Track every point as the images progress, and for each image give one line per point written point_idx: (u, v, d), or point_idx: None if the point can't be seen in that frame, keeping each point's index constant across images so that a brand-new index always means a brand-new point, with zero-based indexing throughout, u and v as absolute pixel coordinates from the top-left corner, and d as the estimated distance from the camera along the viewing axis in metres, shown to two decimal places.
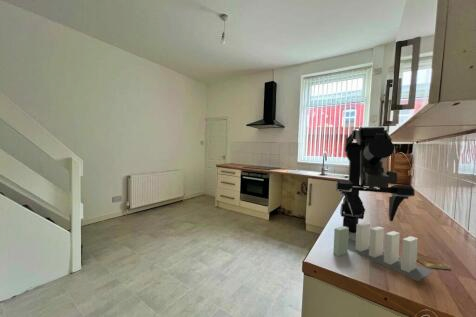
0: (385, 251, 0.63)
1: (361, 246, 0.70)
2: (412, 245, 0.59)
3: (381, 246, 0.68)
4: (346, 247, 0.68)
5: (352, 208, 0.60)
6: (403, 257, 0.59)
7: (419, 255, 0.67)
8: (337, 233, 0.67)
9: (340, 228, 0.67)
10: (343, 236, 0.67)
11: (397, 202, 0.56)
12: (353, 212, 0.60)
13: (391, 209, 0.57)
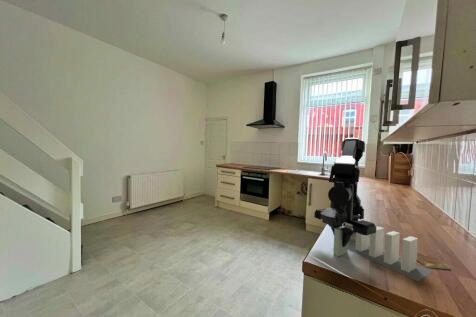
0: (385, 251, 0.63)
1: (361, 246, 0.70)
2: (412, 245, 0.59)
3: (381, 246, 0.68)
4: (346, 247, 0.68)
5: None
6: (403, 257, 0.59)
7: (419, 255, 0.67)
8: (337, 233, 0.67)
9: (340, 228, 0.67)
10: None
11: (344, 232, 0.65)
12: None
13: None
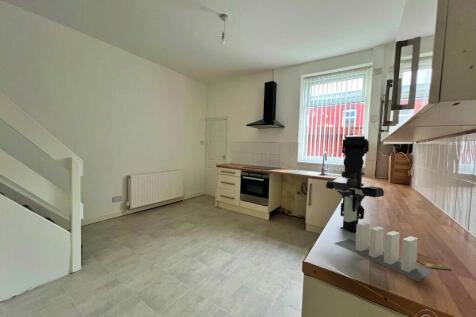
0: (385, 251, 0.63)
1: (361, 246, 0.70)
2: (412, 245, 0.59)
3: (381, 246, 0.68)
4: (355, 214, 0.75)
5: None
6: (403, 257, 0.59)
7: (419, 255, 0.67)
8: (347, 200, 0.74)
9: (350, 196, 0.74)
10: (352, 203, 0.74)
11: (355, 198, 0.72)
12: None
13: None
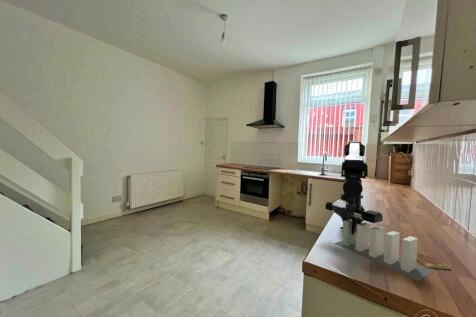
0: (385, 251, 0.63)
1: (361, 246, 0.70)
2: (412, 245, 0.59)
3: (381, 246, 0.68)
4: (354, 237, 0.75)
5: None
6: (403, 257, 0.59)
7: (419, 255, 0.67)
8: (346, 225, 0.74)
9: (348, 220, 0.75)
10: (351, 227, 0.74)
11: (354, 221, 0.73)
12: None
13: None
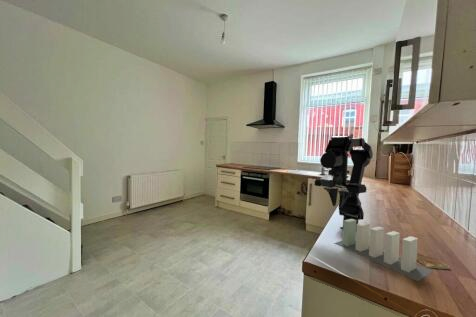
0: (385, 251, 0.63)
1: (361, 246, 0.70)
2: (412, 245, 0.59)
3: (381, 246, 0.68)
4: (354, 237, 0.75)
5: (331, 200, 0.81)
6: (403, 257, 0.59)
7: (418, 255, 0.67)
8: (346, 225, 0.74)
9: (348, 220, 0.75)
10: (351, 227, 0.74)
11: (341, 194, 0.77)
12: (332, 203, 0.81)
13: None
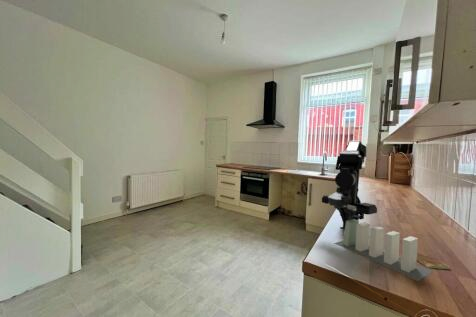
0: (385, 251, 0.63)
1: (361, 246, 0.70)
2: (412, 245, 0.59)
3: (381, 246, 0.68)
4: (354, 238, 0.75)
5: (342, 220, 0.77)
6: (403, 257, 0.59)
7: (418, 255, 0.67)
8: (348, 225, 0.73)
9: (351, 221, 0.74)
10: (353, 228, 0.74)
11: (347, 213, 0.75)
12: (343, 223, 0.77)
13: None
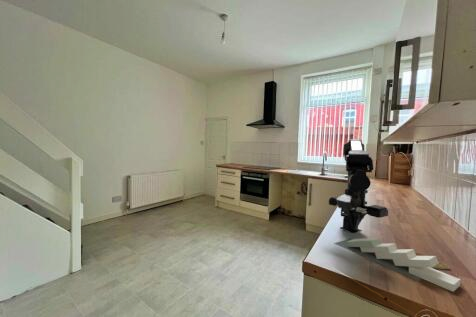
0: (405, 260, 0.59)
1: (367, 251, 0.68)
2: None
3: None
4: None
5: (351, 222, 0.74)
6: (426, 275, 0.55)
7: (418, 255, 0.67)
8: (368, 244, 0.67)
9: (374, 243, 0.67)
10: None
11: (356, 216, 0.72)
12: (352, 226, 0.74)
13: None
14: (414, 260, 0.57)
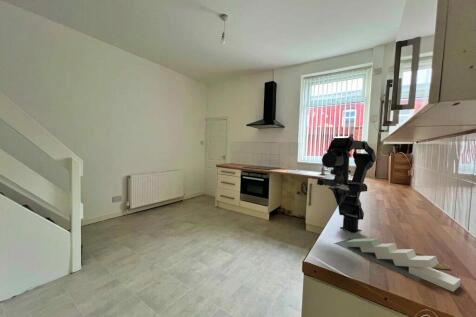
0: (405, 260, 0.59)
1: (367, 251, 0.68)
2: None
3: None
4: None
5: (336, 199, 0.83)
6: (426, 275, 0.55)
7: (418, 255, 0.67)
8: (368, 244, 0.67)
9: (374, 243, 0.67)
10: None
11: (340, 193, 0.81)
12: (337, 202, 0.83)
13: None
14: (414, 260, 0.57)
